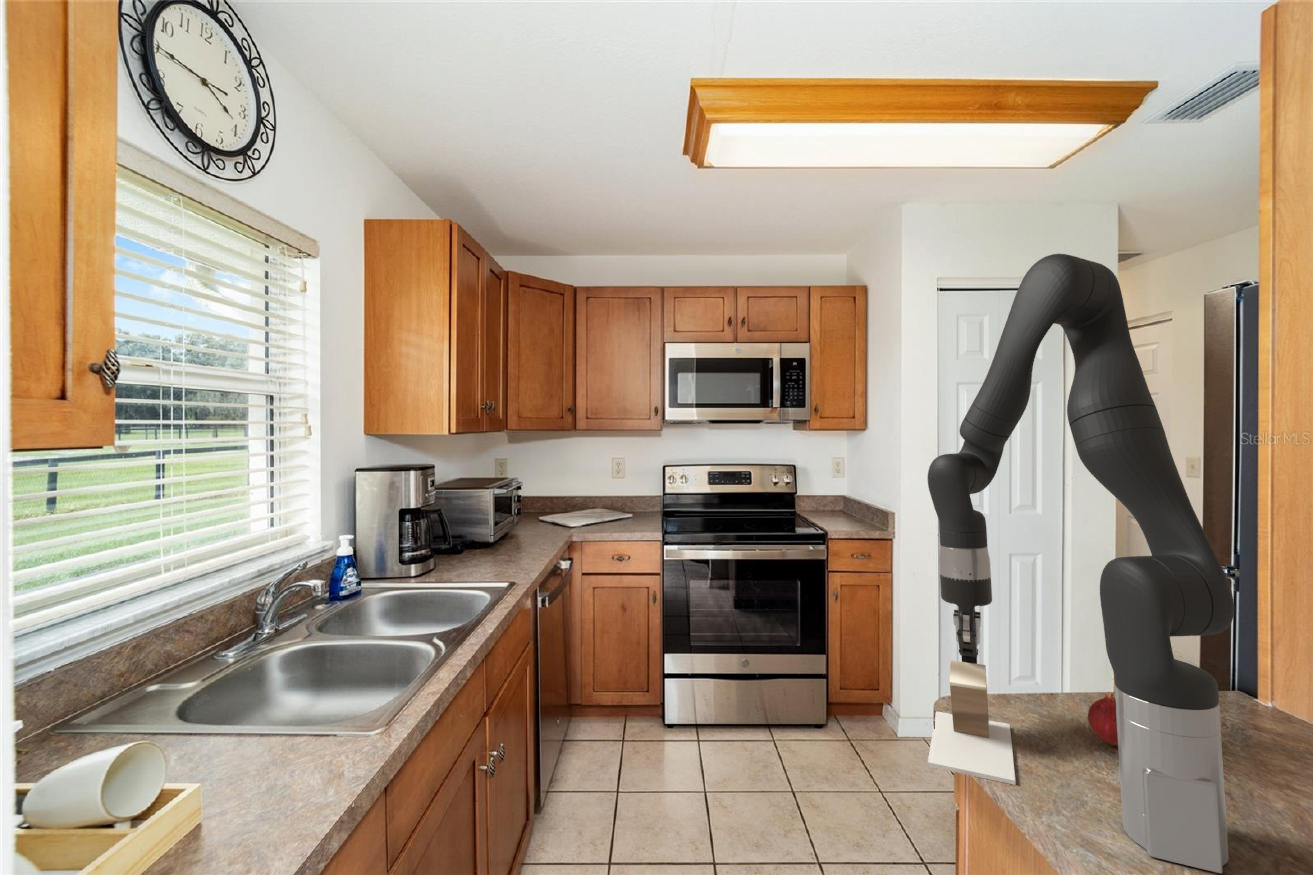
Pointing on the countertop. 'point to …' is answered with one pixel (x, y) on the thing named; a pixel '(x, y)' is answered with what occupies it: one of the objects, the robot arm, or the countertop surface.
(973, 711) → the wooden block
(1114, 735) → the onion
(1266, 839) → the countertop surface
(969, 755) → the mat
